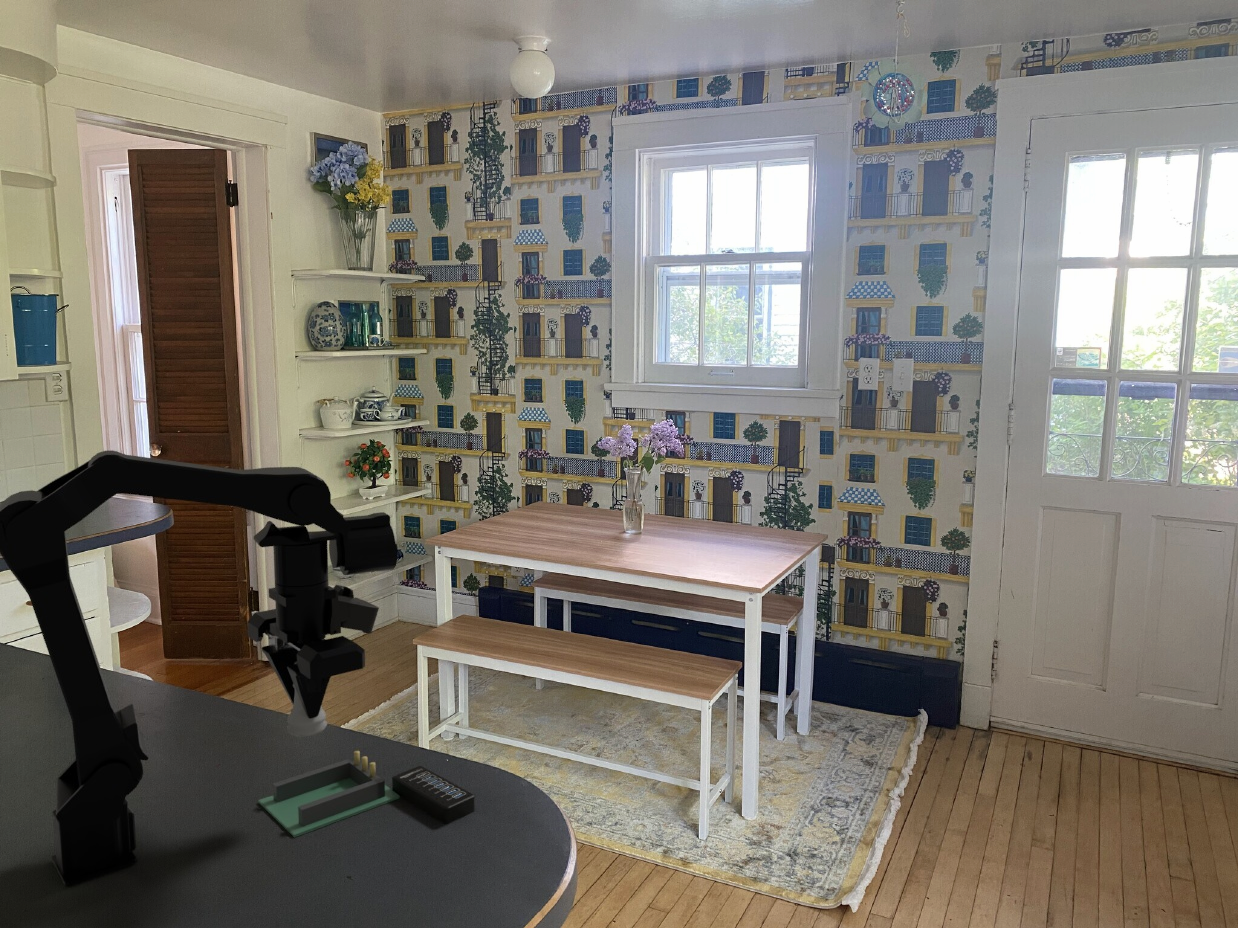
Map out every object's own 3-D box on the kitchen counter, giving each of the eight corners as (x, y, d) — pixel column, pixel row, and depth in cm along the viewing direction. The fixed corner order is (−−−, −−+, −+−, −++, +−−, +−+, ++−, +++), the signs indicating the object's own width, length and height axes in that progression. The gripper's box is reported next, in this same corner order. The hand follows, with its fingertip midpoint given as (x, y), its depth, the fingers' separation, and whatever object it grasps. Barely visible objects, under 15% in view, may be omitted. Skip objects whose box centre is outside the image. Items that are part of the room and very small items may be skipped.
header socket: (294, 837, 100) (292, 804, 99) (258, 802, 107) (257, 771, 106) (399, 797, 108) (399, 767, 108) (360, 768, 116) (359, 739, 115)
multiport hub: (446, 827, 103) (445, 808, 102) (390, 794, 110) (390, 776, 110) (476, 813, 106) (476, 794, 106) (420, 781, 113) (420, 763, 113)
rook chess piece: (278, 732, 103) (275, 665, 102) (308, 718, 107) (306, 653, 106) (305, 741, 101) (303, 673, 100) (335, 726, 105) (334, 660, 104)
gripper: (407, 585, 100) (409, 719, 102) (333, 553, 114) (336, 672, 116) (310, 604, 93) (314, 747, 95) (243, 567, 106) (248, 694, 109)
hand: (306, 711), depth 104 cm, fingers closed on rook chess piece, 3 cm apart
